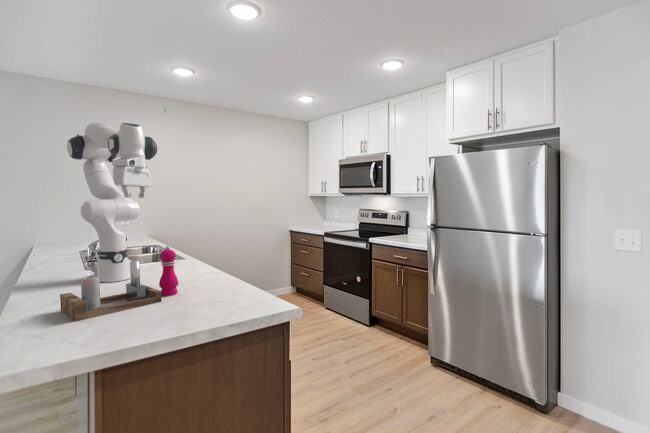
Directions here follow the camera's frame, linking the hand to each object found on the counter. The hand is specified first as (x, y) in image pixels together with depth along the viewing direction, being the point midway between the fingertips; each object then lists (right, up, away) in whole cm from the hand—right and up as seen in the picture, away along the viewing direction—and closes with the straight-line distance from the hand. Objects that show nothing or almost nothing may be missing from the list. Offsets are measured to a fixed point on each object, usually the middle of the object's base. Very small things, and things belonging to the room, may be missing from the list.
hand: (134, 197), depth 146 cm
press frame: (-1, -41, -14) cm, 43 cm away
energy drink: (-5, -41, -19) cm, 46 cm away
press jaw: (+5, -40, -8) cm, 41 cm away
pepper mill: (+13, -40, +2) cm, 42 cm away
